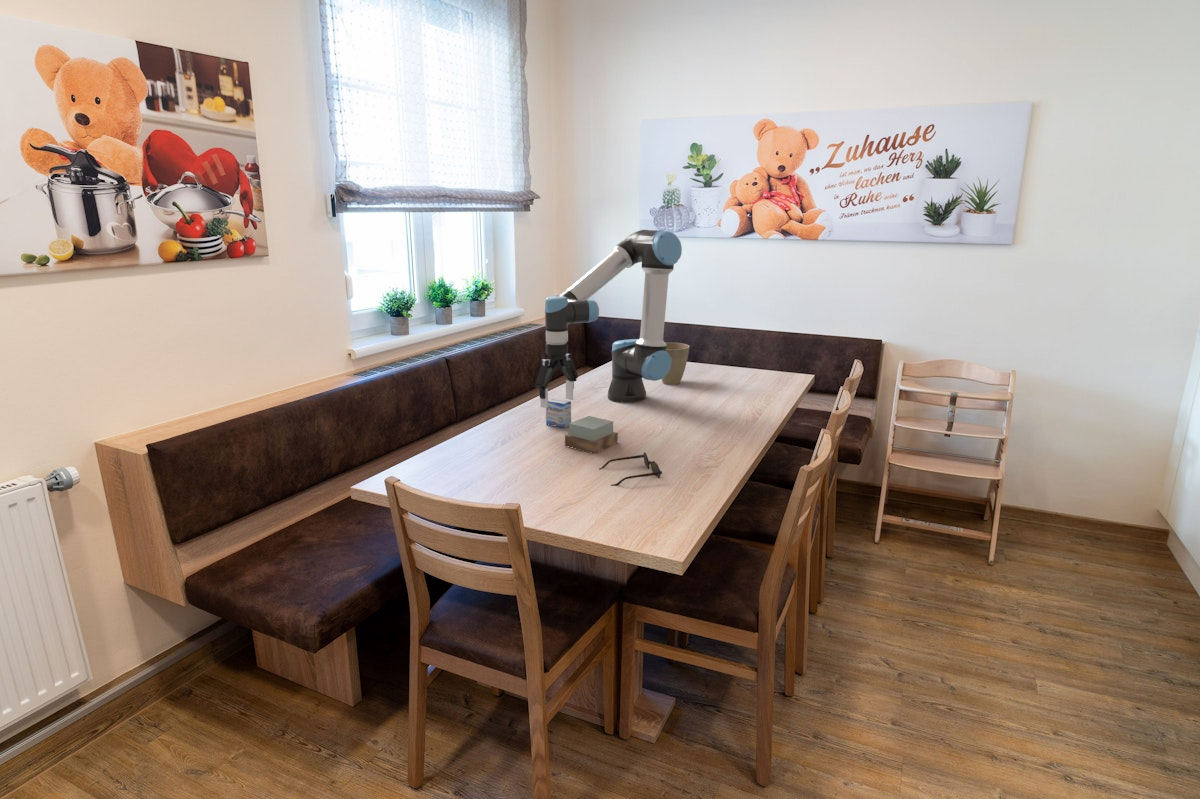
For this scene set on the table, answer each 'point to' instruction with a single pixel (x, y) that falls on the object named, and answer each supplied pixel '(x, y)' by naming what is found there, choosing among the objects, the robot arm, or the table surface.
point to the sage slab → (591, 428)
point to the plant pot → (676, 362)
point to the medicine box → (558, 412)
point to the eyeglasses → (654, 465)
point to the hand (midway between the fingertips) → (557, 403)
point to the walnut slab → (591, 443)
